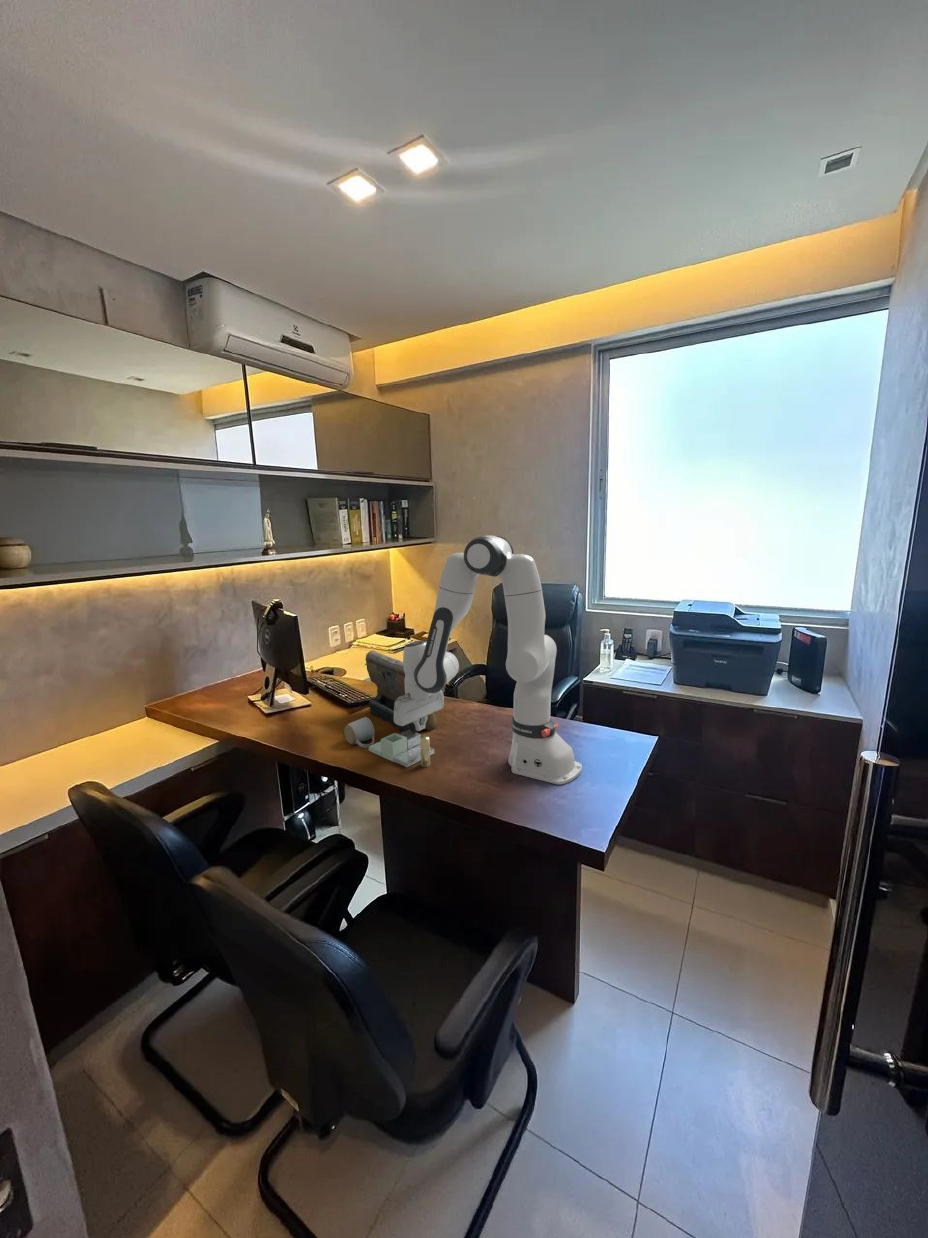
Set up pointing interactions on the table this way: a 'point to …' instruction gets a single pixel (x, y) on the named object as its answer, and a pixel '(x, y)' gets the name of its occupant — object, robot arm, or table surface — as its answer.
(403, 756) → the sliding leaf
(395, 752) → the green square socket base
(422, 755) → the hinge pin
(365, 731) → the ceramic mug
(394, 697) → the tablet
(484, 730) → the table surface
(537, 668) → the robot arm
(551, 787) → the table surface
